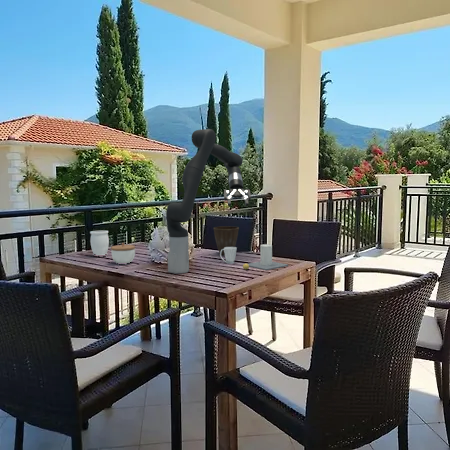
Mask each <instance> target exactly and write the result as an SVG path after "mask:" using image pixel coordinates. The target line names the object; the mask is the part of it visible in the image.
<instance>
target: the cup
mask: <svg viewBox="0 0 450 450" xmlns="http://www.w3.org/2000/svg"><path fill="white" fill-rule="evenodd" d="M237 248H238V247H236V246H235V247H225V248H224V249H222V250H224V253H225V255H224V257H225V259H224V258H223V255H221V252H222V250H221V251H220V253H219V256H220V258H221V260H222V261H224V262H225V263H226V264H235V260H236V255H237Z"/></svg>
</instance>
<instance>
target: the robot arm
mask: <svg viewBox="0 0 450 450" xmlns="http://www.w3.org/2000/svg"><path fill="white" fill-rule="evenodd" d="M216 138H217V137H216V132H215V131H214V129H212V128H207V129H206V128H203V129H196V130H194V131H193V132H192V133H191V142H192V144H193V146H194V147H195V148H197V149H198V151H197V152H196V154H195V155H194V156H193V157H192V158H191V159H189V161H188V162H187V163H186V165H185V167H184V170H183V172H182V177H181V181H182V186H183V189H184V195H183V199H182V201H181V202H171V203H169V204H168V205H167V206H166V207H167V208H166V211H165V212H166V213H165V215H166V216H165V217H166V219H165V220H166V230H167V232H168V247H169V250H168V252H167V272H168V273H171V274H186V273H188V272H190V256H189V255H190V253H189V231H188V229H186V228H184V227H183V225H182V224H181V223H187V222H189V220H190V219H191V216H192V214H193V210H194V206H195V200H196V196H197V192H198V189H199V186H200V183H201V180H202V179H203V175H204V171H205V168H206V165H207V163H208V160H209V157H210V155H211V156H214V158H216V159H218V160H219V161H220V162H222V163H223V164H224V167H225V168H226V172H227V174H228V185H229V187H228V188H229V190H227V189H224V190H223V200H224V201H227V206H229V207H231V206H232V202H231V200H233V199H237V198H238V199H240V198H241V199H242V200H243V201H244V204H245V207H248V205H249V201H251V199H252V195H251V190H250V189H249V188H248V189H244V183H243V182H244V181H243V178H242V171H241V168H240V167H241V166H242V165H243V158H242V156H241V155H240V154H239V153H236V152H234V151H233V152H232V151H230V150H229V149H227V148H226V147H225V146H222V145H220V144H218V143H216ZM228 194H229V195H228Z"/></svg>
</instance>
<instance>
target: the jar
mask: <svg viewBox="0 0 450 450" xmlns="http://www.w3.org/2000/svg"><path fill="white" fill-rule="evenodd" d="M108 233H109V230H105V229H103V230H101V229H100V230H99V229H98V230H92V231H89V234H90V240H89V242H90V246H91V250H92V253H93V255H94V254H96V255H105V254H107V255H108V251H109V246H110V245H109V244H110V239H109V234H108Z"/></svg>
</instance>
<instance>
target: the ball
mask: <svg viewBox="0 0 450 450" xmlns="http://www.w3.org/2000/svg"><path fill="white" fill-rule="evenodd" d="M248 264H249V263H243V264H242V268H243V269H244V270H249V268H250V267H249V265H248Z"/></svg>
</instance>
